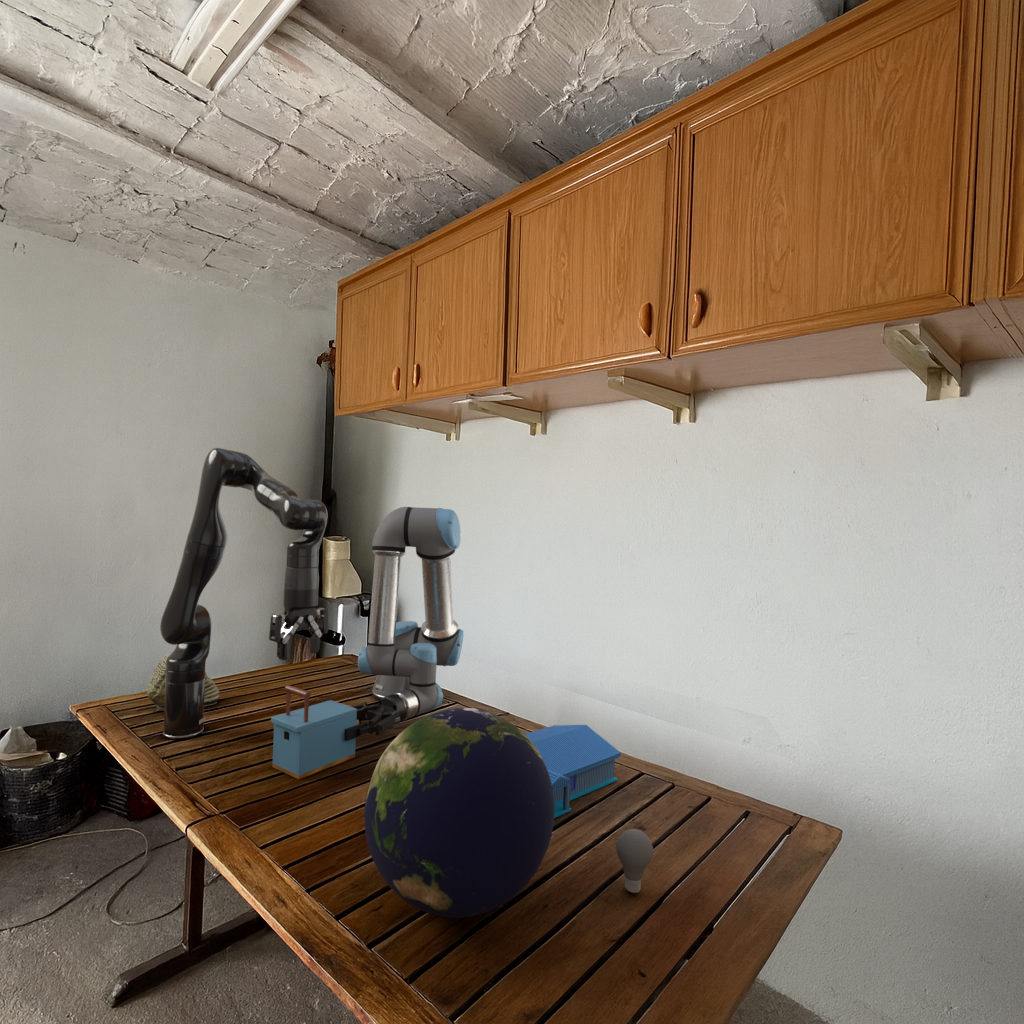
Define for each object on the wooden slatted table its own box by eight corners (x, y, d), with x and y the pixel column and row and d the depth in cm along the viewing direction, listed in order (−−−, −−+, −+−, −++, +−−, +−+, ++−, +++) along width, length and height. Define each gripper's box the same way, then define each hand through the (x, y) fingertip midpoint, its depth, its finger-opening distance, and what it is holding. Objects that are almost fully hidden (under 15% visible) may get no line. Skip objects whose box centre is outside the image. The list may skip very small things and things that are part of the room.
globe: (319, 928, 93) (327, 726, 93) (422, 833, 121) (429, 676, 120) (506, 997, 82) (516, 767, 81) (573, 874, 109) (581, 702, 109)
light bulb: (610, 879, 108) (613, 822, 108) (644, 879, 109) (647, 822, 109) (619, 902, 102) (622, 840, 102) (655, 901, 103) (658, 840, 103)
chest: (298, 779, 141) (300, 731, 141) (272, 767, 147) (273, 721, 147) (355, 756, 155) (356, 713, 154) (329, 746, 160) (330, 704, 160)
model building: (501, 841, 119) (503, 788, 119) (426, 793, 137) (428, 747, 137) (629, 785, 145) (631, 742, 145) (552, 750, 163) (554, 712, 163)
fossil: (144, 707, 182) (145, 655, 182) (212, 696, 194) (213, 647, 194) (151, 716, 175) (153, 662, 175) (221, 703, 188) (223, 653, 188)
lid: (297, 732, 141) (298, 696, 140) (270, 722, 146) (271, 687, 146) (356, 713, 154) (358, 680, 154) (330, 704, 160) (331, 672, 160)
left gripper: (284, 590, 138) (281, 665, 138) (337, 585, 149) (334, 653, 149) (264, 586, 142) (261, 658, 142) (316, 581, 153) (314, 648, 154)
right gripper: (427, 731, 166) (362, 757, 148) (368, 711, 179) (302, 733, 161) (428, 702, 166) (363, 725, 148) (369, 685, 179) (303, 704, 161)
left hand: (298, 656), depth 146 cm, fingers open, 8 cm apart
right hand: (331, 729), depth 155 cm, fingers closed on chest, 10 cm apart
